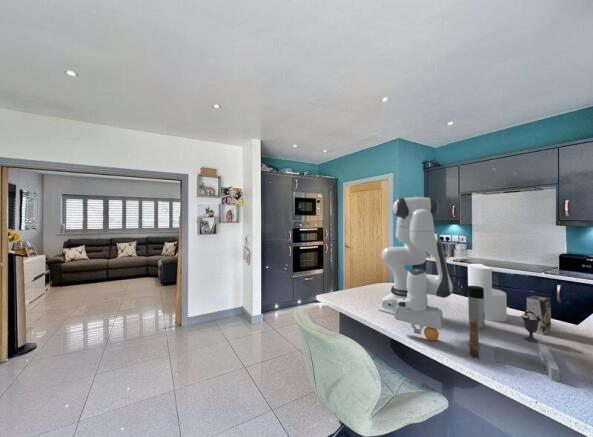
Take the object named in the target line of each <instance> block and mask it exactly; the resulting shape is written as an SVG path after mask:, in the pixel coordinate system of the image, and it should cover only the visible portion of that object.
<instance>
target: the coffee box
mask: <svg viewBox="0 0 593 437" xmlns="http://www.w3.org/2000/svg"><path fill="white" fill-rule="evenodd" d="M551 306H552V304H551V298H550V297H545V296H538V295H531V296H528V297H526V309H527V310H526V311H531V312H533V313H535V314H536V316H537V317H538V316H539V315H540V317H539V318H540V319H541V321H539V323H538V329H537V331H536V332H535V333H536V334H539V335H542V336H543V335H546V334H547V333H550V332H551V331H552V314H551V313H552V311H551V310H552V307H551Z"/></svg>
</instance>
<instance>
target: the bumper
mask: <svg viewBox="0 0 593 437" xmlns="http://www.w3.org/2000/svg"><path fill="white" fill-rule="evenodd" d="M538 354H539V355H538V356H539V358H540V360H541V362H542V364H543V366H544V368H545V370H546V372H547V375H549V377H550V379H551V380H552V381H555V382H559V383H560V382H561V379H560V378H561V373H560V372H561V370H560V369H559V366H558V364H557V362H556V361H555V359H554V357H553V356H552V354H551V352H550V351H549V349H548V347H547V345H546V344H541V343H538Z"/></svg>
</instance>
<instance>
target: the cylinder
mask: <svg viewBox="0 0 593 437" xmlns="http://www.w3.org/2000/svg"><path fill="white" fill-rule="evenodd" d="M492 271H493V270H492V269H491V267H488V266H487V265H485V264H483V263H468V264H467V287H468V286H480V287H482V288H484V321H490V322H505V321H507V319H508V317H507V316H508V315H507V314H508V312H507V310H508V309H507V292H505V291H503V290H501V289H496V288H493V281H492V280H493V279H492V278H493V277H492V276H493V274H492Z"/></svg>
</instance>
